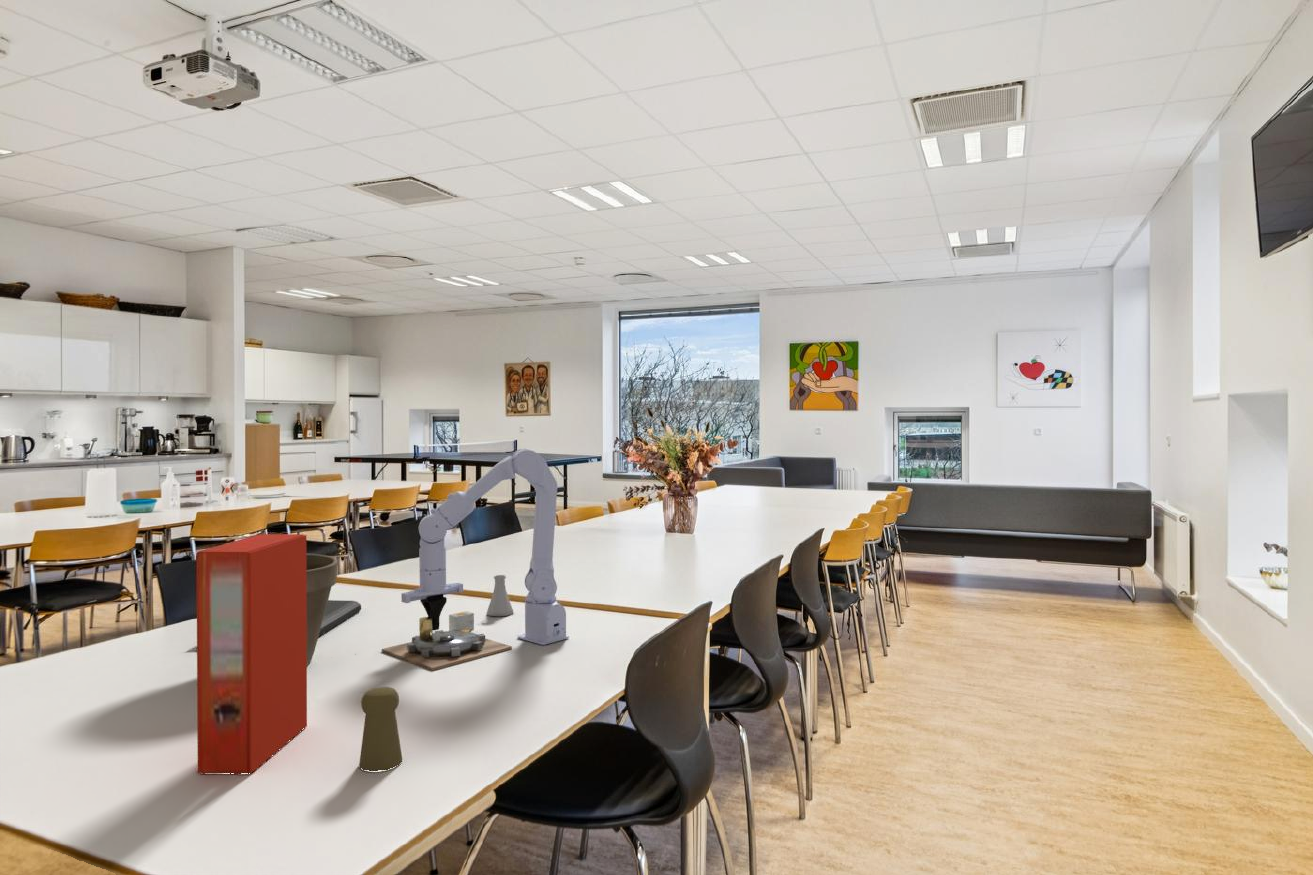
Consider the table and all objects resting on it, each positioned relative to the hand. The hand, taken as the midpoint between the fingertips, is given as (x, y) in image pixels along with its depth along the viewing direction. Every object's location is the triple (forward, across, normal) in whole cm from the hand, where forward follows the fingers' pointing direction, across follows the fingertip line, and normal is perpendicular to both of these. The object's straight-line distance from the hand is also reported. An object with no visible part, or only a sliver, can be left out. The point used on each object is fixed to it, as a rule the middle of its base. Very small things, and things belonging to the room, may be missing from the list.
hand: (433, 629), depth 175 cm
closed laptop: (+5, +15, -41) cm, 44 cm away
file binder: (+4, +49, +28) cm, 56 cm away
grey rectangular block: (+4, -12, -7) cm, 15 cm away
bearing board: (+4, 0, +5) cm, 6 cm away
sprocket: (+4, 0, +5) cm, 6 cm away
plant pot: (+4, +30, -12) cm, 32 cm away
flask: (+4, -28, -13) cm, 32 cm away
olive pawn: (+4, +39, +47) cm, 61 cm away
